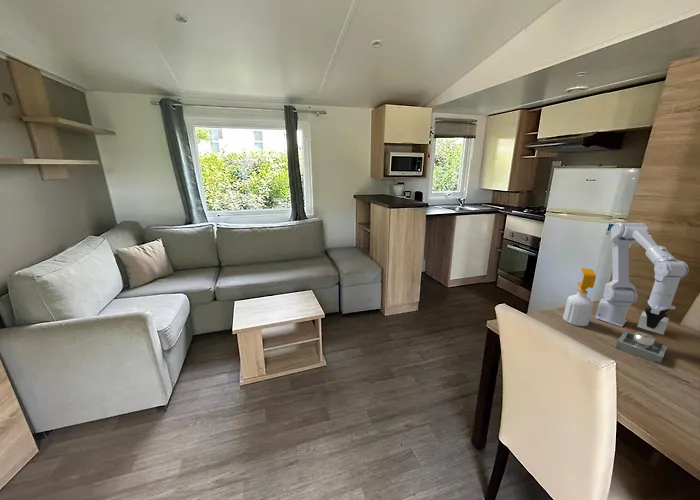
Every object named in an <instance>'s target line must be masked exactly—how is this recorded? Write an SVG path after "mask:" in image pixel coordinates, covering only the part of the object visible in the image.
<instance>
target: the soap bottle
mask: <svg viewBox="0 0 700 500" xmlns="http://www.w3.org/2000/svg"><path fill="white" fill-rule="evenodd" d="M580 270H581V272H582V274H583V276H582V282H581V281H580V282H576V283H577V285H578V286H579V288H580V289H579V288H578V289H577V292H576V294H572V295H569V296H568V297H567V298H566V304H565V307H564V311H563V312H564V313H563V316H562V319H563V321H565V322H566V323H569V324H571V325H573V326H578V327H585V326H586V327H587V326H588V325H589V322H590V318H591V315H592V311H593V308H594V302H593V300H592V299H591V298H590V297H588V291H587V289H589V288H591V289H593V288H594V285H595V281H596V278H597V277H596V276H597V275H596V273H595V271H594V269H592V268H584V267H583V268H581V269H580Z"/></svg>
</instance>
